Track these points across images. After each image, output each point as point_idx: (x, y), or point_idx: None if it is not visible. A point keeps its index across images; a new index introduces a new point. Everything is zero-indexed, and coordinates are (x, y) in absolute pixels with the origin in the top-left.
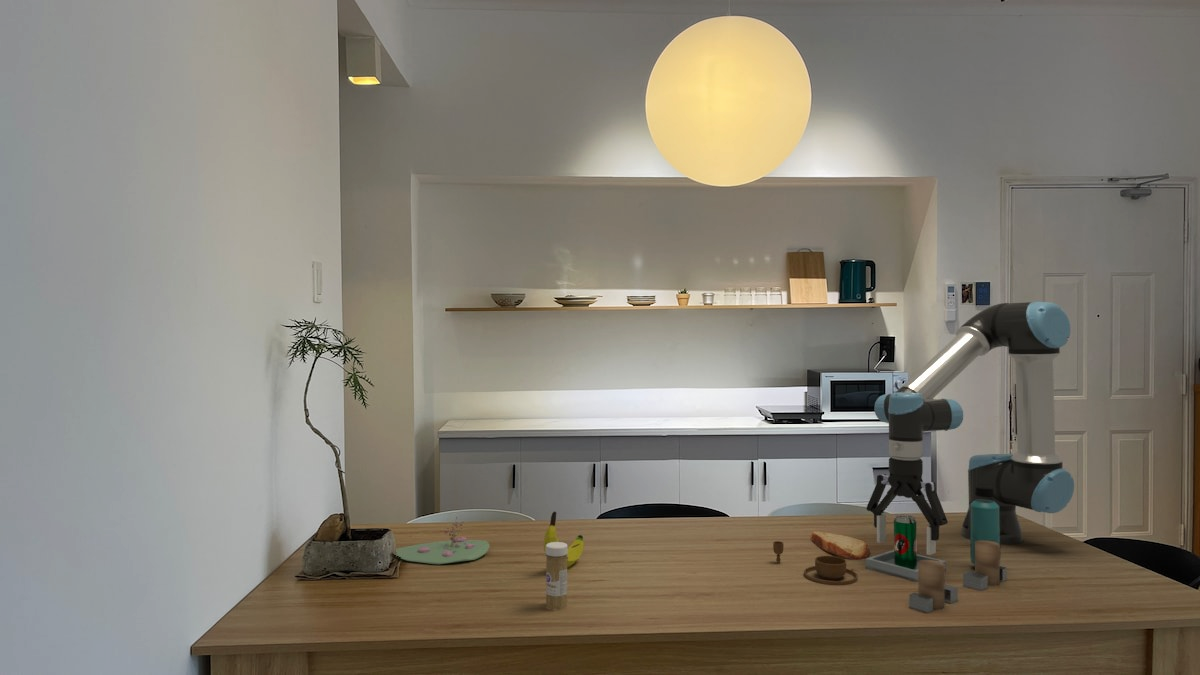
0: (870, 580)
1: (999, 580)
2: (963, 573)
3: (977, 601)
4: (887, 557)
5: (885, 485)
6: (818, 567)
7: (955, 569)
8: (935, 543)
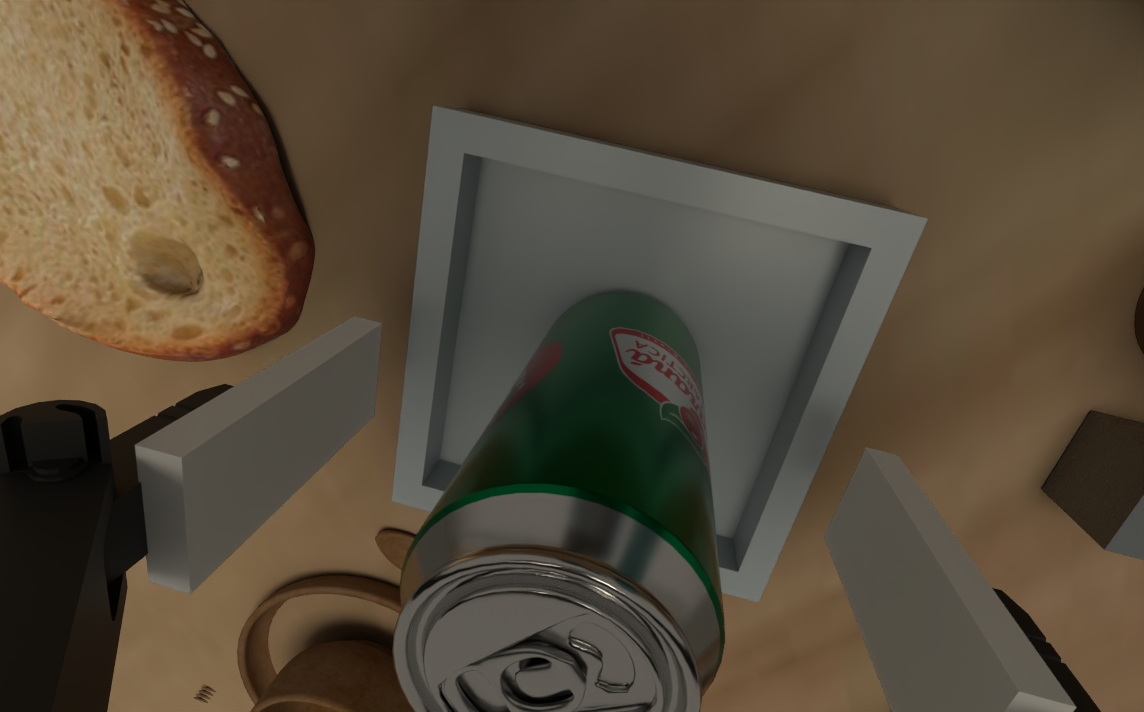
0: None
1: None
2: (1107, 544)
3: (1128, 677)
4: (455, 293)
5: None
6: None
7: (965, 75)
8: (935, 516)
